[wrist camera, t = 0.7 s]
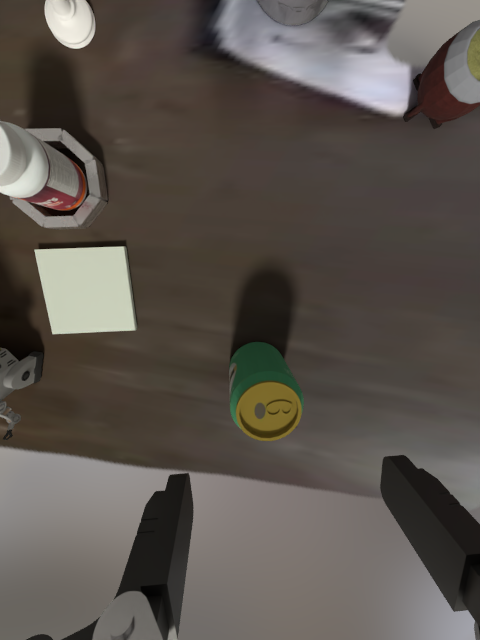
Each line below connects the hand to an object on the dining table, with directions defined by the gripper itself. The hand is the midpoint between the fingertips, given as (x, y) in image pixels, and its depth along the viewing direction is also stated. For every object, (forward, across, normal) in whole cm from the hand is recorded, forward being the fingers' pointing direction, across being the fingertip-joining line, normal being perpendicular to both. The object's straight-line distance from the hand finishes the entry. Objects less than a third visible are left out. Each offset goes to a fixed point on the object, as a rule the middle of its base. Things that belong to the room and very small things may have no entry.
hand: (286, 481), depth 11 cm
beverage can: (+27, -1, +7) cm, 28 cm away
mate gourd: (+28, -24, -25) cm, 44 cm away
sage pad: (+27, +20, -5) cm, 34 cm away
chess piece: (+28, +17, -34) cm, 47 cm away
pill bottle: (+27, +21, -18) cm, 39 cm away
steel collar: (+27, +21, -18) cm, 39 cm away
